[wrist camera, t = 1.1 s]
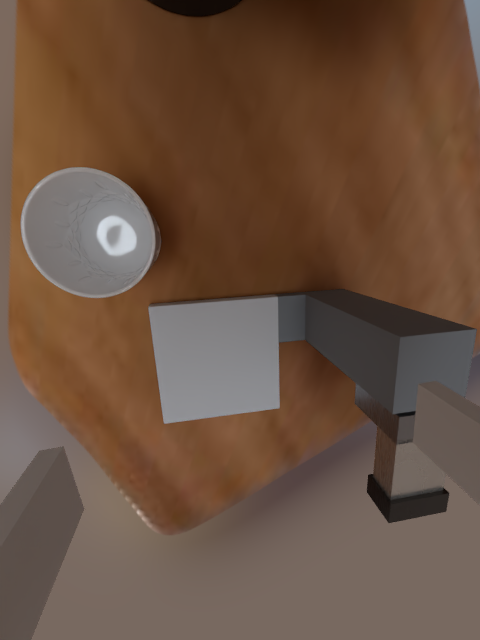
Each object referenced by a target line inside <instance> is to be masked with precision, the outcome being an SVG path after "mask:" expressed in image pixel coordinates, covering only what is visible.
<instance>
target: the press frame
mask: <svg viewBox="0 0 480 640" xmlns="http://www.w3.org/2000/svg"><path fill="white" fill-rule="evenodd" d="M148 309H149V317H150V324H151V331H152V339H153V346H154V354H155V361H156V368H157V376H158V383H159V391H160V398H161V406H162V413H163V420H164V424H165V423H173V422H180V421H188V420H195V419H202V418H210V417H217V416H225V415H232V414H240V413H247V412H255V411H262V410H269V409H277V408H280V404H279V342H288V341H298V340H306V341H307V342H308V343H310V344H311V345H312V346H313V347H314V348H315V349H317V350H318V351H319V352H320V353H321V354H322V355H324V356H325V357H326V358H327V359H328V360H329V361H331V362H332V363H333V364H334V365H335V366H337V367H338V368H339V369H340V370H341V371H342V372H344V373H345V374H346V375H347V376H348V377H349V378H351V379H352V380H353V381H354V382H355V383H357V384H358V385H359V386H360V387H361V388H362V389H364V390H365V391H366V392H367V393H368V394H369V395H371V396H372V397H373V398H374V399H375V400H376V401H378V402H379V403H380V404H381V405H382V406H384V407H385V408H386V409H387V410H388V411H389V412H391V413H392V414H397V413H404V412H411V411H416V402H417V391H418V384H420V383H426V382H432V381H437V382H439V383H441V384H442V385H444V386H446V387H447V388H449V389H451V390H452V391H454V392H456V393H457V394H459V395H461V396H462V397H464V398H465V394H466V389H467V383H468V378H469V371H470V366H471V360H472V354H473V348H474V343H475V337H476V331H477V329H475V328H472V327H468V326H465V325H462V324H458V323H455V322H452V321H448V320H445V319H442V318H438V317H435V316H432V315H428V314H425V313H422V312H418V311H415V310H412V309H408V308H405V307H402V306H398V305H395V304H392V303H388V302H385V301H382V300H378V299H375V298H372V297H368V296H365V295H362V294H358V293H355V292H352V291H348V290H345V289H337V290H324V291H311V292H298V293H285V294H273V295H260V296H247V297H234V298H221V299H208V300H196V301H183V302H170V303H157V304H150V305H149V307H148Z"/></svg>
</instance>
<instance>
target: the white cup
mask: <svg viewBox="0 0 480 640" xmlns="http://www.w3.org/2000/svg"><path fill="white" fill-rule="evenodd" d="M21 234H22V239H23V243H24V246H25V249H26V251H27V253H28V256H29V257H30V259H31V261H32V262H33V264H34V265H35V267H36V268H37V269H38V270H39V272H40V273H41V274H42V275H43V276H44V277H45V278H47V279H48V280H49V281H50V282H52V283H53V284H54V285H56V286H57V287H59V288H61V289H63V290H65V291H67V292H69V293H72V294H75V295H78V296H83V297H89V298H104V297H111V296H115V295H118V294H120V293H123V292H125V291H127V290H128V289H130V288H132V287H133V286H134V285H136V284H137V283H138V282H139V281H140V280H141V279H142V278H143V276H144V275H145V274H146V273H147V272H148V271H149V270H150V269H151V267H152V266H153V265H154V263H155V261H156V259H157V257H158V255H159V252H160V246H161V242H162V240H161V236H160V230H159V227H158V224H157V222H156V220H155V218H154V216H153V215H152V213H151V211H150V210H149V208H148V207H147V206H146V205H145V203H144V202H143V201H142V200H141V198H140V197H139V196H138V195H137V193H136V192H135V191H134V190H133V189H132V188H131V187H129V186H128V185H127V184H126V183H124V182H123V181H122V180H120V179H119V178H117V177H115V176H113V175H111V174H109V173H107V172H104V171H101V170H97V169H93V168H85V167H74V168H67V169H62V170H59V171H56V172H54V173H52V174H50V175H48V176H46V177H45V178H43V179H42V180H41V181H40V182H39V183H38V184H37V185H36V186H35V187H34V188H33V189H32V190H31V192H30V193H29V195H28V197H27V199H26V201H25V203H24V206H23V210H22V214H21Z"/></svg>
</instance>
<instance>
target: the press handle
mask: <svg viewBox="0 0 480 640" xmlns="http://www.w3.org/2000/svg"><path fill="white" fill-rule="evenodd" d="M355 404H356V405H357V406H358V407H359V408H360V409H361V410H362V411H363V412H364V413H365V414H366V415H367V416H368V417H369V418H370V419H371V420H372V421H373V422H374V423H375V424H376V425H377V438H376V449H375V461H374V473H373V474H370V475H368V484H367V493H368V494H369V496H370V497H371V498H372V500H373V501H374V503H375V504H376V506H377V507H378V509H379V510H380V511H381V513H382V514H383V515H384V517H385V518H386V520H387V521H388V523H392V522H397V521H402V520H406V519H411V518H417V517H422V516H426V515H431V514H436V513H441V512H446V508H447V503H448V497H449V493H448V492H447V491H446V490H445V489H444V488H443V487H444V481H445V475H446V473H445V472H444V471H442V470H441V469H440V468H439V467H438V466H437V465H436V464H435V463H434V462H433V461H432V460H431V459H430V458H429V457H428V456H427V455H426V454H424V453H423V452H422V451H421V450H420V449H419V448H418V447H417V446H416V445H415V444H414V443H413V436H414V425H415V414H416V411H411V412H404V413H397V414H392V413H391V412H389V411H388V410H387V409H386V408H385V407H384V406H382V405H381V404H380V403H379V402H378V401H376V400H375V399H374V398H373V397H372V396H371V395H369V394H368V393H367V392H366V391H365V390H364V389H362V388H361V387H360V386H359V385H358V384H357V383H356V391H355Z"/></svg>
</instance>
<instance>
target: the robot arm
mask: <svg viewBox="0 0 480 640" xmlns="http://www.w3.org/2000/svg"><path fill="white" fill-rule="evenodd" d="M149 1H151V2H153V3H154V4H156V5H158V6H160V7H162V8H164V9H167V10H169V11H172V12H175V13H179V14H184V15H192V16H203V15H211V14H215V13H219V12H222V11H224V10H227V9H229V8H231V7H232V6H234V5H236V4H237V3H239V2H240V1H241V0H149ZM413 443H414V444H415V445H416V446H417V447H418V448H419V449H420V450H421V451H422V452H423V453H424V454H426V455H427V456H428V457H429V458H430V459H431V460H432V461H433V462H434V463H435V464H436V465H437V466H438V467H439V468H440V469H441V470H442V471H444V472H445V473H446V474H447V475H448V476H449V477H450V478H451V479H452V480H453V481H454V482H455V483H456V484H457V485H458V486H459V487H460V488H462V489H463V490H464V491H465V492H466V493H467V494H468V495H469V496H470V497H471V498H472V499H473V500H474V501H475V502H476V503H477V504H478V505H480V407H479V406H477V405H476V404H474V403H472V402H470V401H469V400H467V399H466V398H464V397H462V396H461V395H459V394H457V393H456V392H454V391H452V390H451V389H449V388H447V387H446V386H444V385H442V384H441V383H439V382H437V381H432V382H426V383H420V384H418V391H417V402H416V414H415V425H414V436H413ZM83 511H84V507H83V504H82V501H81V498H80V495H79V492H78V489H77V486H76V483H75V480H74V477H73V474H72V471H71V468H70V465H69V462H68V459H67V456H66V453H65V449H64V447H58V448H53V449H47V450H42V451H39V452H38V454H37V455H36V456H35V458H34V459H33V461H32V462H31V463H30V465H29V466H28V467H27V469H26V470H25V471H24V473H23V474H22V476H21V477H20V479H19V480H18V481H17V482H16V484H15V485H14V487H13V488H12V489H11V491H10V492H9V494H8V495H7V496H6V498H5V499H4V500H3V502H2V503H1V505H0V640H31V639H32V636H33V634H34V631H35V629H36V626H37V624H38V621H39V619H40V616H41V614H42V611H43V609H44V607H45V604H46V602H47V599H48V597H49V594H50V592H51V589H52V587H53V584H54V582H55V580H56V577H57V574H58V572H59V569H60V567H61V565H62V562H63V560H64V557H65V555H66V552H67V550H68V547H69V545H70V543H71V540H72V538H73V535H74V533H75V530H76V528H77V525H78V523H79V520H80V518H81V515H82V513H83Z"/></svg>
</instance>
